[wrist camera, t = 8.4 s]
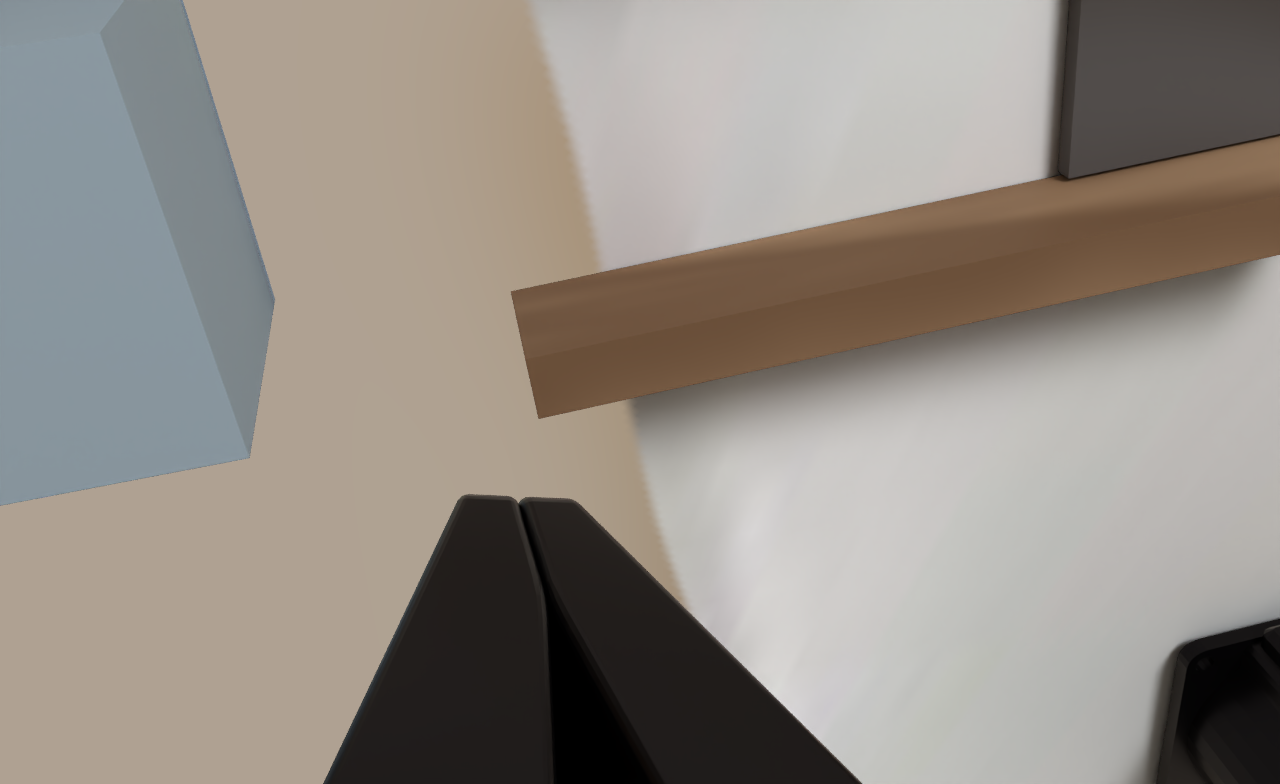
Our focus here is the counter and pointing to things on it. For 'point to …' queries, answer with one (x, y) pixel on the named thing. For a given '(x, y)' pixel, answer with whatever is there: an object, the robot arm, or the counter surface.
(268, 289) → the slate block
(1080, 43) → the trap channel
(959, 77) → the counter surface
